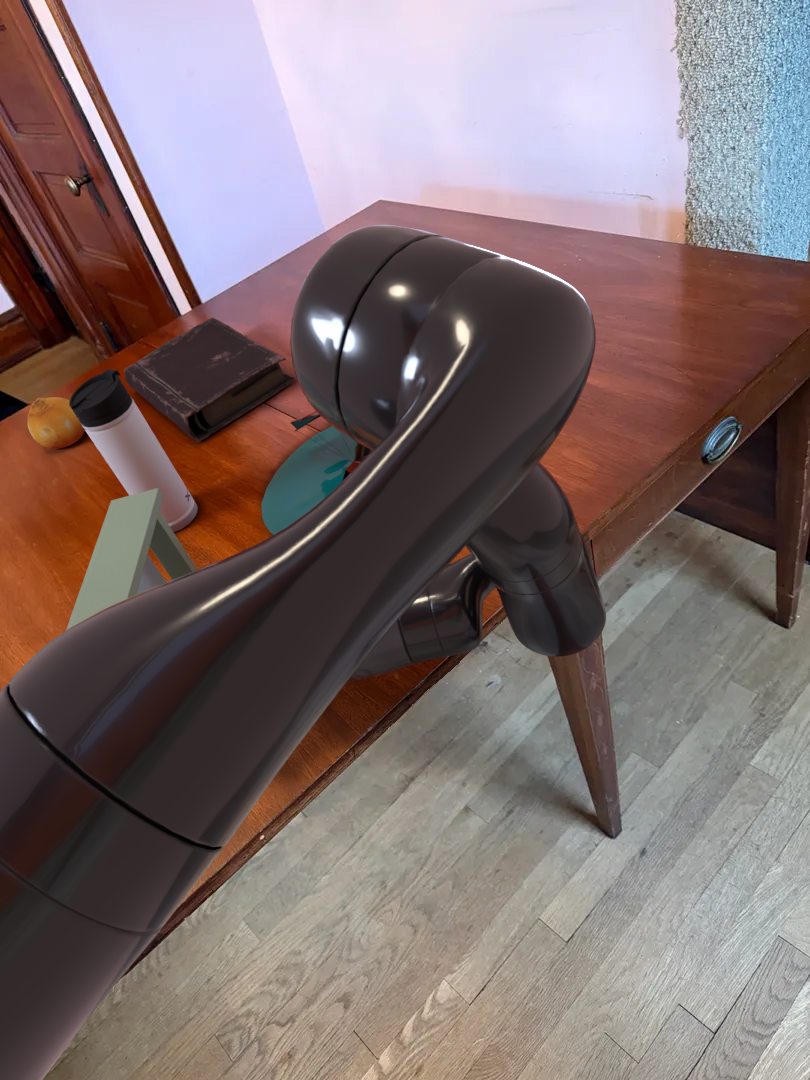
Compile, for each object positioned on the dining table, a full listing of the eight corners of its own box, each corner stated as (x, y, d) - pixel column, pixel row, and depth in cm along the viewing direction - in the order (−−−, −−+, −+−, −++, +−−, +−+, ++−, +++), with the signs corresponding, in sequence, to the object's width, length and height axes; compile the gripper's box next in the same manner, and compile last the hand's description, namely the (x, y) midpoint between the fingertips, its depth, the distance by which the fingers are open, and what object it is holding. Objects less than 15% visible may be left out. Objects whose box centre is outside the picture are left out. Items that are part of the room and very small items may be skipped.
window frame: (240, 604, 80) (166, 485, 69) (216, 796, 64) (113, 682, 52) (185, 617, 81) (103, 502, 70) (147, 811, 64) (31, 701, 53)
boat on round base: (492, 393, 96) (469, 314, 90) (475, 537, 76) (443, 448, 69) (299, 435, 105) (265, 366, 99) (237, 573, 85) (188, 498, 78)
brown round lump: (27, 455, 113) (26, 405, 109) (28, 435, 119) (27, 387, 116) (86, 457, 116) (87, 408, 113) (84, 438, 123) (84, 391, 119)
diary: (195, 446, 106) (179, 418, 103) (134, 395, 123) (118, 369, 120) (300, 380, 112) (288, 351, 109) (228, 340, 129) (216, 314, 126)
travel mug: (209, 504, 95) (130, 370, 82) (175, 539, 92) (86, 405, 78) (177, 495, 98) (96, 366, 85) (142, 529, 95) (53, 399, 82)
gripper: (336, 546, 63) (147, 593, 65) (336, 671, 53) (114, 722, 55) (362, 603, 68) (186, 645, 70) (367, 727, 58) (162, 772, 60)
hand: (155, 679), depth 63 cm, fingers closed
